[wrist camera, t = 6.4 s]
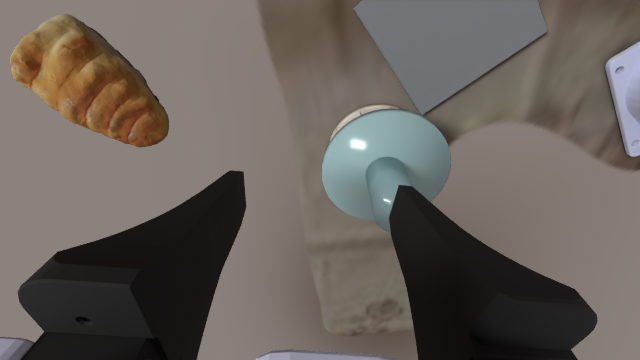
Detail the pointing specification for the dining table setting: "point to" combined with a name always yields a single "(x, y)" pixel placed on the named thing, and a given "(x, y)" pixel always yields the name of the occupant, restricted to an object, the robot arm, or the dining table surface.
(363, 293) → the dining table surface
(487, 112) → the dining table surface
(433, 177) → the lid
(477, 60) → the mat
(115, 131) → the pastry
